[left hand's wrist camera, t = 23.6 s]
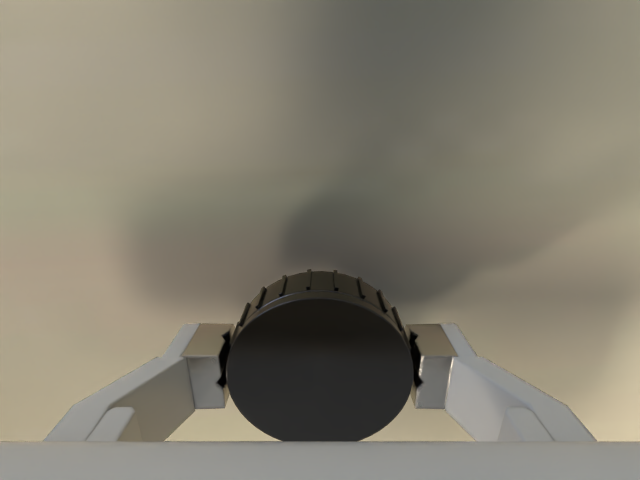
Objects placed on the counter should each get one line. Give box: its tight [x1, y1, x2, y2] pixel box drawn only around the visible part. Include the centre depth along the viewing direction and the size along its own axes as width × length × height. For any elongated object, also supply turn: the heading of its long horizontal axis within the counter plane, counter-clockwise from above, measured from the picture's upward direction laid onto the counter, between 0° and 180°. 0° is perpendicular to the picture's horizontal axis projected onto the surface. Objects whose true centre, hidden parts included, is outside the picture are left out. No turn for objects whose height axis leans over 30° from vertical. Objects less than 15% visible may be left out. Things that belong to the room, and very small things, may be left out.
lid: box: [226, 269, 414, 442], centre depth 10 cm, size 5×5×2 cm
